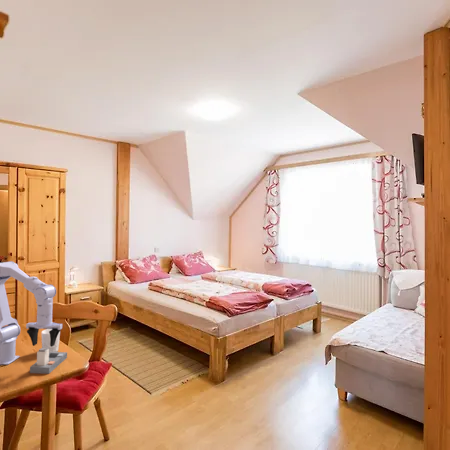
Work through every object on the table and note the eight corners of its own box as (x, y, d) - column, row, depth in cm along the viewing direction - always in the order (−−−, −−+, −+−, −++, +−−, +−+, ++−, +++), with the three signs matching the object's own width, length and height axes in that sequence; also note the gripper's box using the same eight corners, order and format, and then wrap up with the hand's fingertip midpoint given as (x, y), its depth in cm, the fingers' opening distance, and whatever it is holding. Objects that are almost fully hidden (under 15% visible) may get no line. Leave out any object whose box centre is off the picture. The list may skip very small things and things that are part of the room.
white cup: (42, 349, 153) (43, 328, 153) (60, 347, 156) (61, 327, 156) (39, 355, 146) (40, 334, 146) (58, 353, 149) (58, 333, 149)
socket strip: (29, 372, 130) (30, 365, 130) (49, 357, 145) (49, 350, 145) (49, 373, 130) (49, 366, 130) (67, 357, 145) (67, 351, 145)
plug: (36, 370, 132) (37, 350, 132) (41, 367, 135) (41, 347, 135) (44, 371, 132) (44, 350, 132) (48, 367, 135) (49, 347, 135)
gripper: (21, 316, 130) (20, 348, 130) (56, 317, 130) (55, 349, 130) (32, 311, 137) (31, 341, 138) (65, 312, 137) (64, 343, 138)
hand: (43, 345), depth 134 cm, fingers open, 7 cm apart
